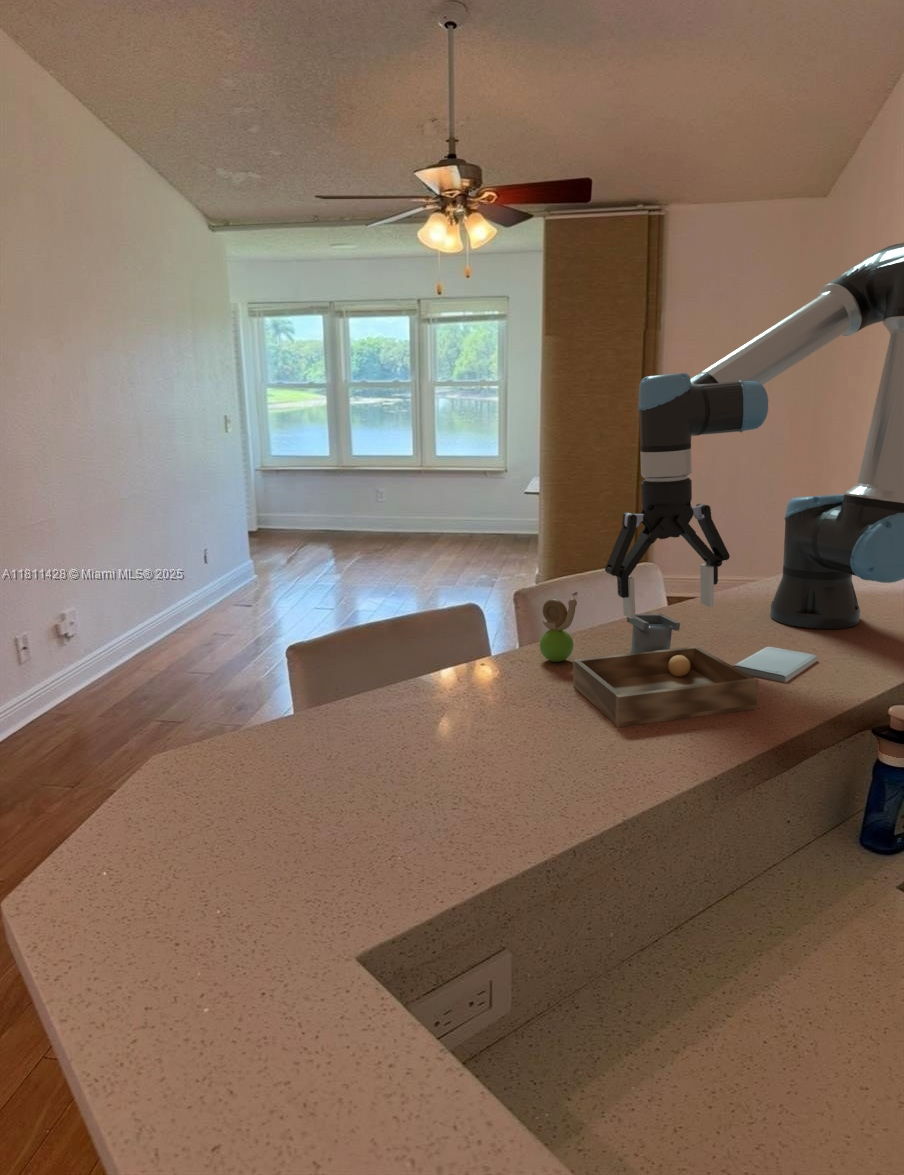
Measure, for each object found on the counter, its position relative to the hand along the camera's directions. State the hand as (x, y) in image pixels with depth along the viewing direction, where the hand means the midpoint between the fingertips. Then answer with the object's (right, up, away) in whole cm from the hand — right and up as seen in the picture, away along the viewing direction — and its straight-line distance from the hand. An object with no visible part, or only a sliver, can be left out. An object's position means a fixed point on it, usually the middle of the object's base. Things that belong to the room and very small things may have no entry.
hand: (668, 610), depth 127 cm
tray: (-5, -12, -14) cm, 19 cm away
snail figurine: (-17, -9, +3) cm, 19 cm away
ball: (-1, -8, -8) cm, 12 cm away
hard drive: (+16, -9, -3) cm, 18 cm away
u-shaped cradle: (-3, -8, -1) cm, 9 cm away
